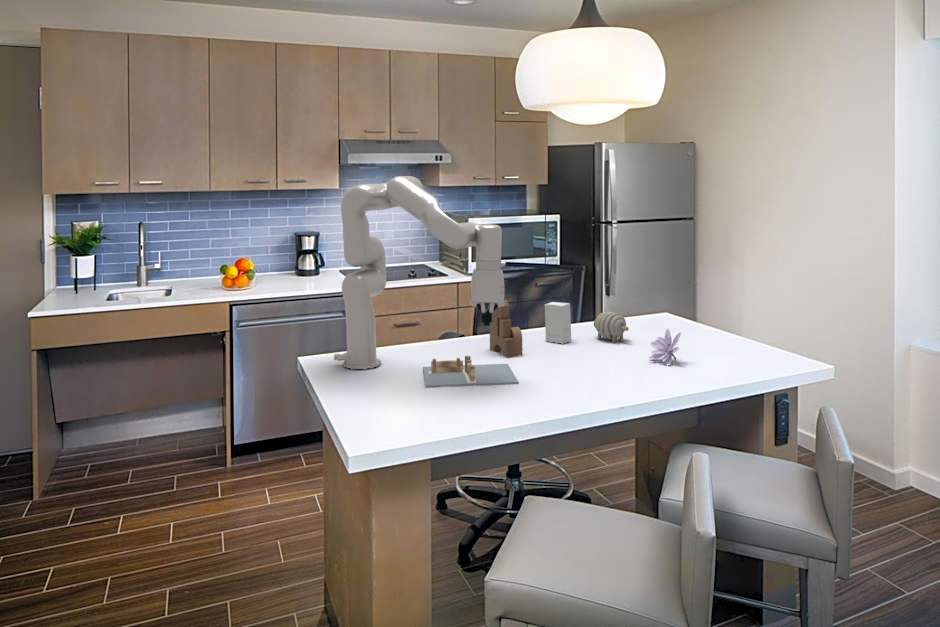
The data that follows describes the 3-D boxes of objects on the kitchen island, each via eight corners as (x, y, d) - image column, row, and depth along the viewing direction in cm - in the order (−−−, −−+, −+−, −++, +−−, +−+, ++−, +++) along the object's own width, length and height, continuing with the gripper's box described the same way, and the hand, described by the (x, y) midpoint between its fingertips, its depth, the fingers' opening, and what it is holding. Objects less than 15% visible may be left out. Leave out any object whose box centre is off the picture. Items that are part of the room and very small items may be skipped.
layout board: (425, 387, 214) (425, 385, 214) (423, 368, 235) (422, 366, 235) (518, 383, 216) (518, 381, 216) (507, 365, 238) (507, 363, 238)
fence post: (465, 374, 228) (465, 357, 227) (464, 372, 230) (464, 356, 229) (471, 374, 228) (470, 357, 227) (470, 372, 230) (470, 355, 229)
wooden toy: (523, 355, 251) (523, 284, 246) (506, 357, 248) (506, 286, 244) (504, 346, 265) (503, 279, 260) (487, 348, 262) (487, 280, 258)
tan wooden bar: (466, 372, 227) (466, 359, 226) (470, 371, 227) (470, 359, 226) (470, 380, 217) (470, 367, 216) (475, 380, 217) (474, 367, 217)
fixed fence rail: (462, 370, 229) (462, 357, 228) (463, 371, 228) (462, 358, 227) (431, 371, 228) (431, 358, 227) (431, 372, 227) (431, 359, 226)
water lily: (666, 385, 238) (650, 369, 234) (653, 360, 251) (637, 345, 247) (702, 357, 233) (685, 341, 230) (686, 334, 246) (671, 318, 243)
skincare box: (571, 342, 271) (572, 303, 268) (562, 344, 267) (562, 305, 264) (553, 338, 277) (553, 300, 274) (544, 341, 272) (544, 302, 269)
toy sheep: (602, 335, 282) (603, 307, 280) (637, 342, 269) (638, 313, 267) (584, 339, 276) (585, 310, 274) (619, 346, 263) (620, 316, 261)
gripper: (510, 264, 221) (508, 322, 225) (462, 263, 220) (461, 322, 224) (514, 267, 214) (512, 327, 218) (464, 267, 213) (463, 327, 216)
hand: (486, 324), depth 221 cm, fingers closed
